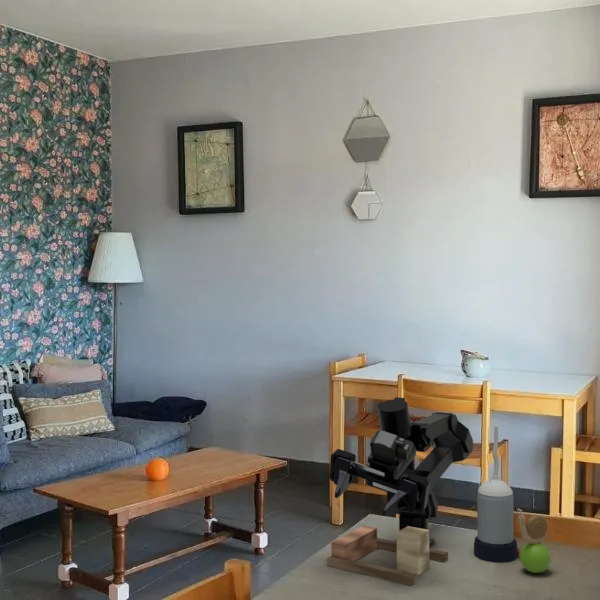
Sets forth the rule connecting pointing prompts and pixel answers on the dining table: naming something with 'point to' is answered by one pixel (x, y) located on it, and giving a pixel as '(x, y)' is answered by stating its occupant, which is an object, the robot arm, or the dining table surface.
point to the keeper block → (413, 550)
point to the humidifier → (495, 517)
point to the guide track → (364, 543)
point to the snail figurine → (534, 543)
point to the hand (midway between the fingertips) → (359, 504)
